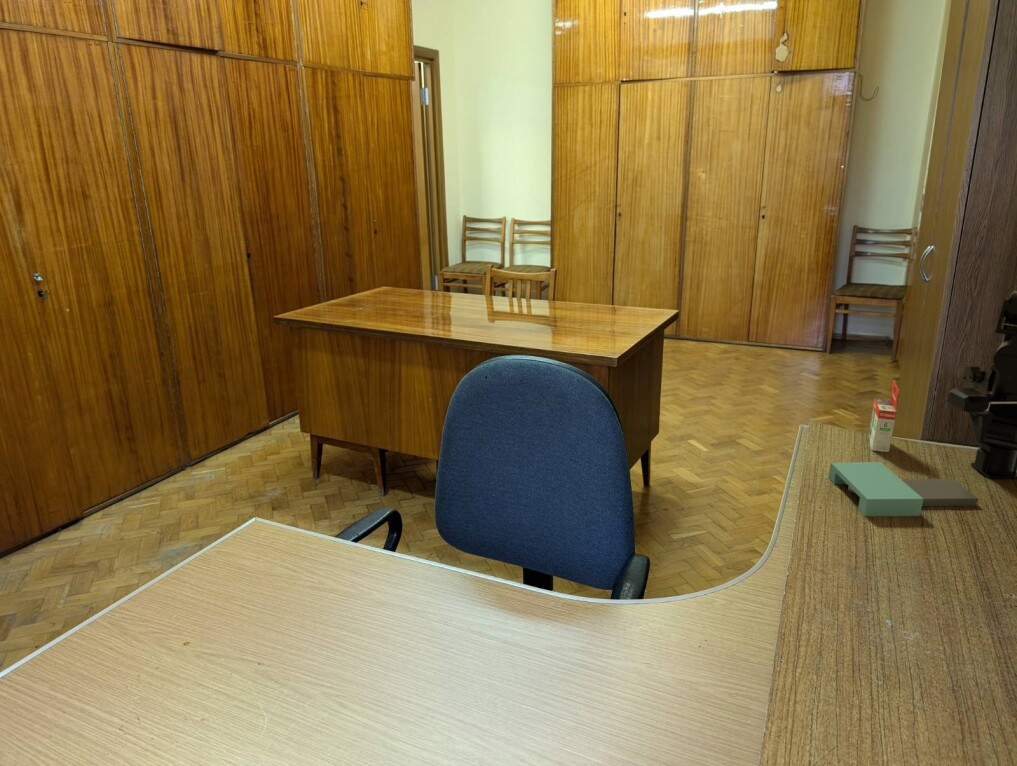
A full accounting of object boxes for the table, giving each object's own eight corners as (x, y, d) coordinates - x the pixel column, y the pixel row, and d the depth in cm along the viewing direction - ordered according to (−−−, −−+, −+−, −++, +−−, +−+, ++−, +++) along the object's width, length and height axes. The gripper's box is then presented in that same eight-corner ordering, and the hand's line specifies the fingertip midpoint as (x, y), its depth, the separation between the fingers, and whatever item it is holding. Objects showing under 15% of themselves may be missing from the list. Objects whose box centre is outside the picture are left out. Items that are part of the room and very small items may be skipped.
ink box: (871, 451, 152) (881, 388, 147) (866, 437, 159) (876, 377, 154) (889, 453, 150) (900, 390, 146) (884, 439, 157) (894, 379, 153)
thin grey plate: (951, 485, 135) (952, 479, 135) (976, 505, 128) (978, 498, 127) (894, 486, 136) (896, 479, 135) (917, 505, 128) (918, 498, 128)
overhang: (878, 477, 139) (880, 462, 138) (919, 515, 125) (923, 498, 124) (828, 478, 139) (830, 462, 138) (864, 516, 125) (867, 499, 124)
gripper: (1038, 350, 131) (1019, 426, 136) (938, 351, 131) (924, 426, 136) (1083, 367, 120) (1061, 449, 125) (974, 368, 121) (957, 449, 126)
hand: (998, 442), depth 128 cm, fingers open, 7 cm apart
